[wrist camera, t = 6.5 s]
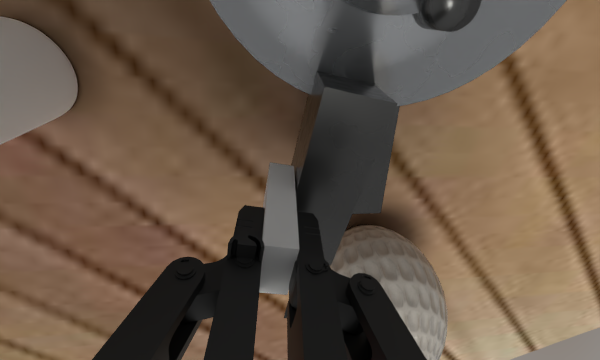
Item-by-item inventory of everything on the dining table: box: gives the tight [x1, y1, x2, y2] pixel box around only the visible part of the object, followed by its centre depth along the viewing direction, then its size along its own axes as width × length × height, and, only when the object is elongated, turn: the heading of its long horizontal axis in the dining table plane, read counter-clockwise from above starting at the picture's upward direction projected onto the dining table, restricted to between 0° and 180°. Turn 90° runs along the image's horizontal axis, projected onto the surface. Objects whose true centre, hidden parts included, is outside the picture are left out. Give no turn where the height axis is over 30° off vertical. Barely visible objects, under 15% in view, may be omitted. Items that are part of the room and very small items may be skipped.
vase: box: [330, 225, 448, 360], centre depth 29 cm, size 13×13×17 cm
